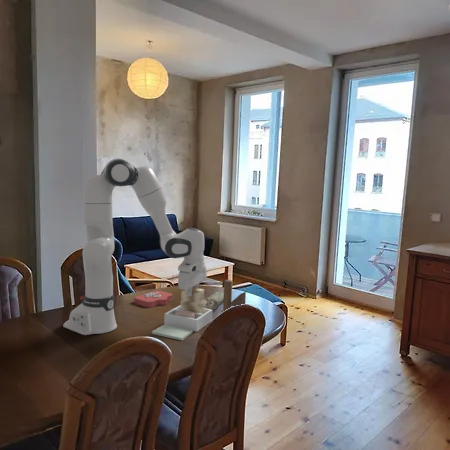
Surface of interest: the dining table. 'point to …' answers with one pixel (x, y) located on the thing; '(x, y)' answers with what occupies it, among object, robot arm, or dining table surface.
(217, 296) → the elongated rock
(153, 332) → the sage pad
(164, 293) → the plaque
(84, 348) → the dining table surface
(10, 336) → the dining table surface
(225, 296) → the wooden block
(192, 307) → the birch board
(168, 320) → the white open box
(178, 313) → the upper offcut
